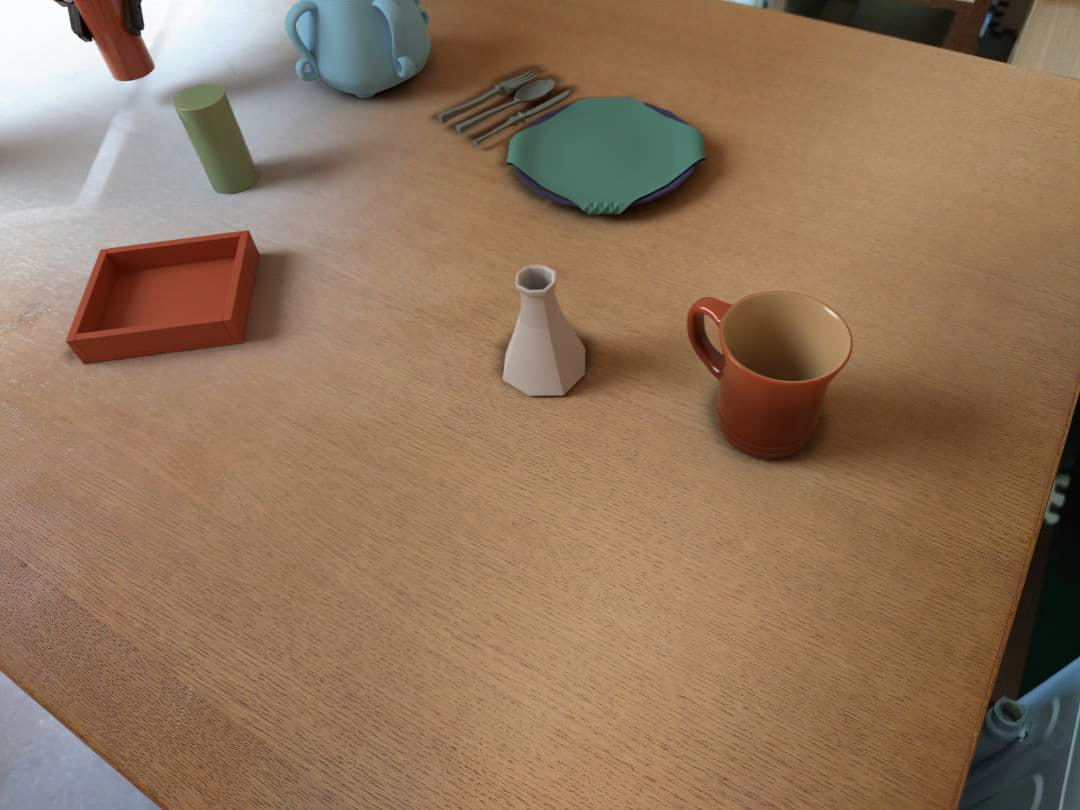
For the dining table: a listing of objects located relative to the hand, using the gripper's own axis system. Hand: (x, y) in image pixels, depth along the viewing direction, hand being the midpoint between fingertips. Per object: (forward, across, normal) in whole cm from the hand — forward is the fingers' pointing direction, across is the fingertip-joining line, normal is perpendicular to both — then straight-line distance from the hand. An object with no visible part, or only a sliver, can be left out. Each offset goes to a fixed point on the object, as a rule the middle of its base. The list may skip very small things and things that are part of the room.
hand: (110, 36), depth 92 cm
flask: (+44, +45, -31) cm, 70 cm away
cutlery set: (+21, +52, -9) cm, 57 cm away
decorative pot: (+6, +29, +7) cm, 31 cm away
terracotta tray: (+34, +11, -21) cm, 42 cm away
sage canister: (+20, +14, -7) cm, 26 cm away
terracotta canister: (+2, 0, +5) cm, 6 cm away
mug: (+50, +60, -37) cm, 86 cm away
